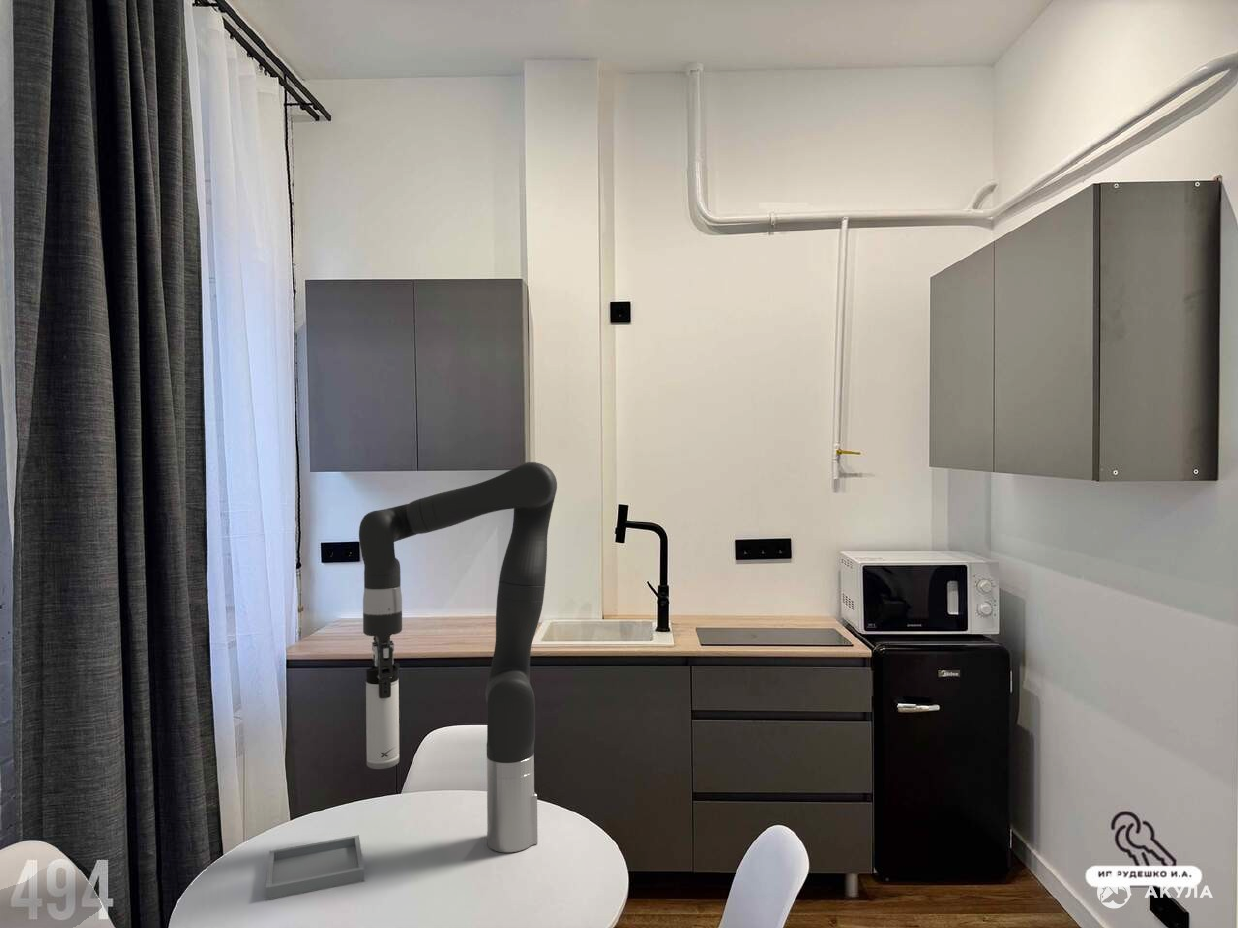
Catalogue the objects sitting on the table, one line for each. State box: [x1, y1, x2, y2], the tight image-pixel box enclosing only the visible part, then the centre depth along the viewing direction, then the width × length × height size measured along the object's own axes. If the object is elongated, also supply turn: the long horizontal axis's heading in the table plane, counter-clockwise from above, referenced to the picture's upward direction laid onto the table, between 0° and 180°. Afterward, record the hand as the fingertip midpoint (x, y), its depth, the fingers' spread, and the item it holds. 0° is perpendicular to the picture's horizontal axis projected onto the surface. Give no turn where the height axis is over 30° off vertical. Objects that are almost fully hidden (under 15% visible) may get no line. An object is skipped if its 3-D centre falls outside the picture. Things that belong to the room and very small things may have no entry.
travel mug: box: [365, 662, 400, 770], centre depth 157 cm, size 6×7×20 cm
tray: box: [265, 834, 365, 901], centre depth 144 cm, size 16×14×2 cm
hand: (383, 692), depth 157 cm, fingers closed on travel mug, 6 cm apart
